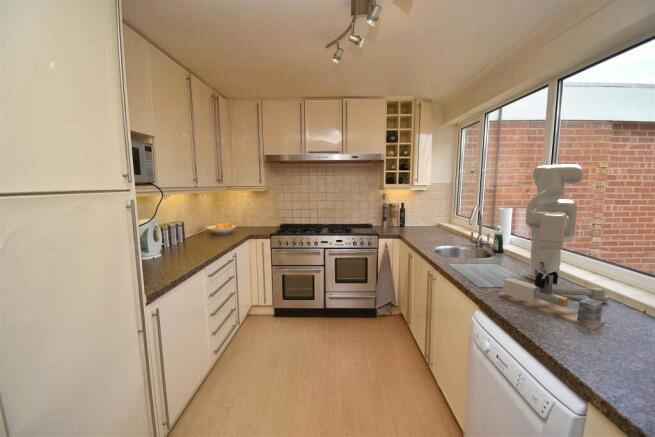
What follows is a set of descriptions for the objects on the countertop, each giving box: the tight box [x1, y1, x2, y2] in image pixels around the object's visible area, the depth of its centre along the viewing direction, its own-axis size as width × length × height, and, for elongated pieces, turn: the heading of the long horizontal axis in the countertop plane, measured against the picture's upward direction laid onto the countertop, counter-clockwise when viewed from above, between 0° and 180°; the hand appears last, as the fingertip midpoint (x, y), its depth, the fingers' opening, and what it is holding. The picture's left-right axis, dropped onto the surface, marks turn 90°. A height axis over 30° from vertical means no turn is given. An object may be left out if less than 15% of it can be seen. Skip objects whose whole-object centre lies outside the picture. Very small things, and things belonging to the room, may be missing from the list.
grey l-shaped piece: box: [534, 274, 569, 308], centre depth 113 cm, size 21×3×10 cm, turn 26°
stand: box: [497, 291, 605, 331], centre depth 110 cm, size 33×9×8 cm, turn 26°
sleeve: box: [502, 277, 540, 303], centre depth 118 cm, size 12×5×7 cm, turn 27°
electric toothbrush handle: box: [552, 285, 609, 304], centre depth 120 cm, size 5×7×25 cm
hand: (546, 285), depth 110 cm, fingers open, 9 cm apart
